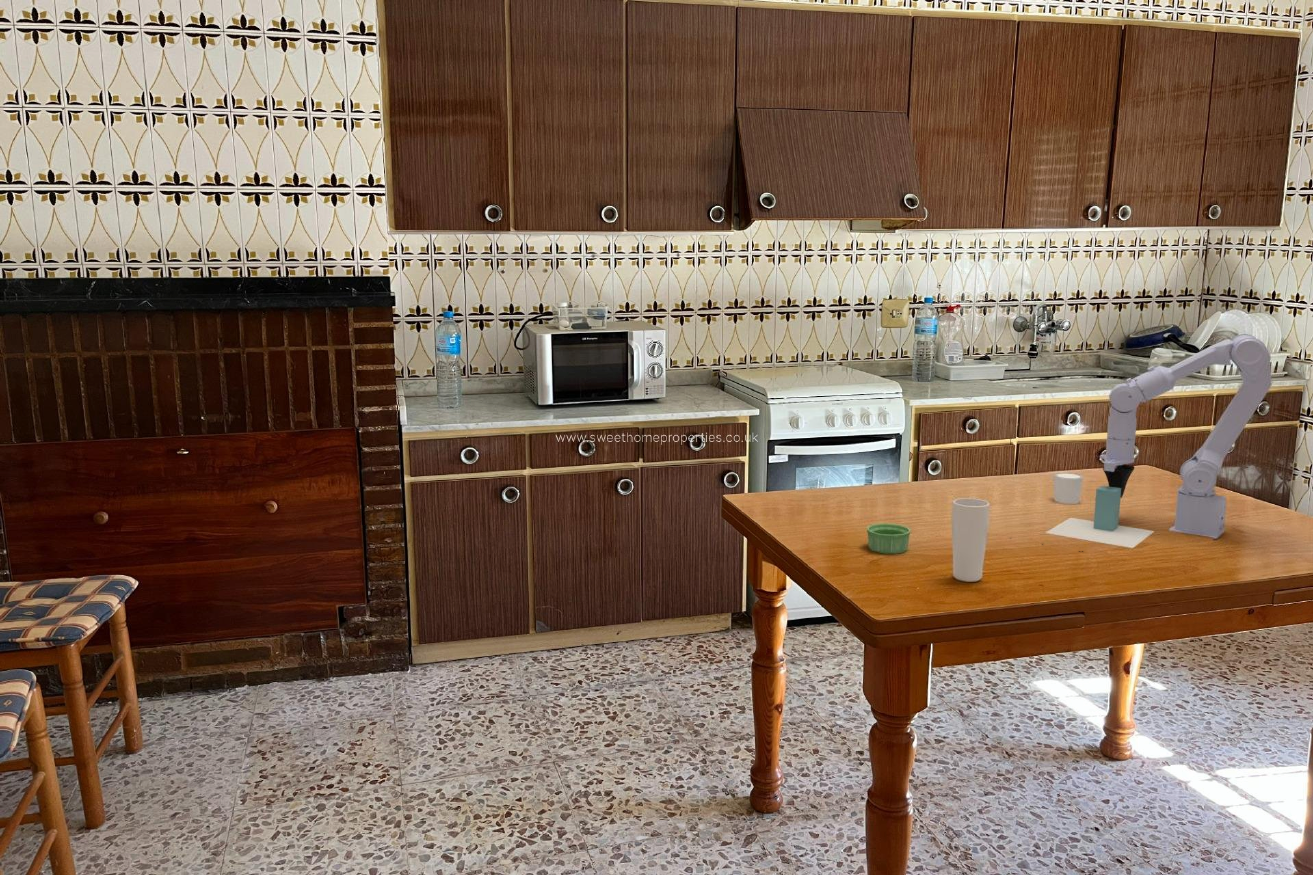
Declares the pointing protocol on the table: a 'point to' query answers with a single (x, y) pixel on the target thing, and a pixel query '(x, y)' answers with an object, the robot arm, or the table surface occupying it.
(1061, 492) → the white cylinder
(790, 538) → the table surface
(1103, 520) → the teal block
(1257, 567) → the table surface
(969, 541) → the drinking glass
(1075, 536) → the white mat
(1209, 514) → the robot arm
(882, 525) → the ramekin
